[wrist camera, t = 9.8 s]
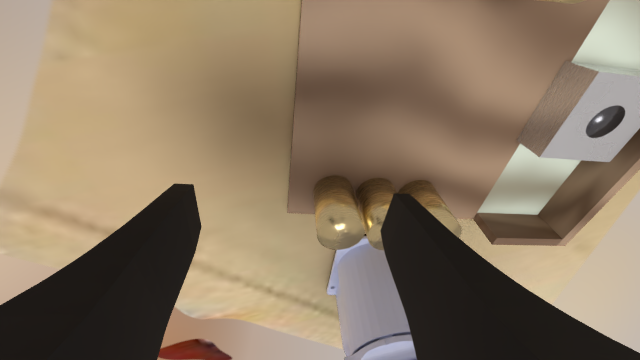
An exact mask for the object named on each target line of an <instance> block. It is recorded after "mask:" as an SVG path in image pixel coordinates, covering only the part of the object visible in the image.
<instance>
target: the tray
mask: <svg viewBox="0 0 640 360" xmlns="http://www.w3.org/2000/svg"><path fill="white" fill-rule="evenodd" d="M565 61H570V62H578V63H586V64H594V65H602V66H610V67H618V68H626V69H634V70H640V0H585V1H582V2H579V3H572V4H571V3H560V2H550V1H540V0H302V5H301V20H300V34H299V49H298V63H297V78H296V93H295V107H294V122H293V136H292V151H291V165H290V180H289V194H288V211H287V213H301V214H315V207H314V197H313V189H314V187H315V185H316V184H317V182H318V181H320V180H321V179H323V178H325V177H328V176H333V175H337V176H342V177H344V178H346V179H348V180H349V181H350V182H351V184H352V186H353V190H354V193H355V197H356V192H357V189H358V188H359V186H360V185H361V184H362V183H364V182H365V181H367V180H369V179H372V178H385V179H387V180H389V181H391V182H392V184H393V185H394V187H395V189H396V191H397V193H398V192H399V190H400V189H401V188H402V187H403V186H404V185H406V184H407V183H409V182H412V181H415V180H426V181H429V182H430V183H432V184H433V186H434V187H435V189H436V190H437V192H438V193H439V195H440V196H441V198H442V199H443V201H444V202H445V204H446V205H447V207H448V208H449V210H450V211H451V213H452V214H453V216H454V217H455V218H459V219H474V221H475V222H476V223H477V225H478V226H479V228H480V229H481V230H482V232H483V233H484V234H485V236H486V237H487V238H488V240H489V241H490V242H491V244H492V245H548V246H565V245H566V244H567V243H568V242H569V241H570V240H571V239H572V238H573V237H574V236H575V235H576V234H577V233H578V232H579V231H580V230H581V229H582V228H583V227H584V226H585V225H586V224H587V223H588V222H589V221H590V220H591V219H592V218H593V217H594V216H595V215H596V213H597V212H598V211H599V210H600V209H601V208H602V207H603V206H604V205H605V204H606V203H607V202H608V201H609V200H610V199H611V198H612V197H613V196H614V195H615V194H616V193H617V192H618V191H619V190H620V189H621V188H622V187H623V186H624V185H625V184H626V183H627V182H628V181H629V180H630V179H631V178H632V177H633V176H634V175H635V174H636V173H637V172H638V171H639V170H640V129H639V130H638V131H637V132H636V133H635V134H634V135H633V136H632V138H631V139H630V140H629V141H628V142H627V143H626V144H625V146H624V147H623V148H622V149H621V150H620V151H619V152H618V153H617V155H616V156H615V157H614V158H613V159H612V160H611V161H610V162H599V161H584V160H569V159H555V158H540V157H538V156H537V155H536V154H534V153H533V152H532V151H530V150H529V149H527V148H526V147H525V146H523V145H522V144H521V143H519V142H518V141H517V139H518V137H519V135H520V134H521V132H522V130H523V129H524V127H525V125H526V124H527V122H528V120H529V119H530V117H531V116H532V114H533V112H534V111H535V109H536V107H537V106H538V104H539V102H540V101H541V99H542V98H543V96H544V94H545V93H546V91H547V89H548V88H549V86H550V84H551V83H552V81H553V80H554V78H555V76H556V75H557V73H558V71H559V70H560V68H561V66H562V65H563V63H564V62H565ZM357 204H358V203H357ZM359 211H360V210H359Z"/></svg>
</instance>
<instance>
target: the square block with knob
mask: <svg viewBox="0 0 640 360" xmlns="http://www.w3.org/2000/svg"><path fill="white" fill-rule="evenodd" d="M639 129H640V70H634V69H626V68H618V67H610V66H602V65H594V64H586V63H578V62H570V61H565V62H564V63H563V65H562V66H561V68H560V70H559V71H558V73H557V75H556V76H555V78H554V80H553V81H552V83H551V84H550V86H549V88H548V89H547V91H546V93H545V94H544V96H543V98H542V99H541V101H540V102H539V104H538V106H537V107H536V109H535V111H534V112H533V114H532V116H531V117H530V119H529V120H528V122H527V124H526V125H525V127H524V129H523V130H522V132H521V134H520V135H519V137H518V139H517V141H518V142H519V143H521V144H522V145H523V146H525V147H526V148H527V149H529V150H530V151H532V152H533V153H534V154H536V155H537V156H538V157H540V158H555V159H569V160H584V161H599V162H610V161H611V160H612V159H613V158H614V157H615V156H616V155H617V153H618V152H619V151H620V150H621V149H622V148H623V147H624V146H625V144H626V143H627V142H628V141H629V140H630V139H631V138H632V136H633V135H634V134H635V133H636V132H637V131H638V130H639Z"/></svg>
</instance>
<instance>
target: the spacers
mask: <svg viewBox="0 0 640 360" xmlns="http://www.w3.org/2000/svg"><path fill="white" fill-rule="evenodd" d="M540 1H550V2H560V3H571V4H572V3H579V2H582V1H585V0H540ZM394 193H397V191H396V189H395V187H394V185H393V184H392V182H391V181H389V180H387V179H385V178H372V179H369V180H367V181H365V182H364V183H362V184H361V185H360V186H359V188H358V189H357V192H356V197H355V193H354V190H353V186H352V184H351V182H350V181H349V180H348V179H346V178H344V177H342V176H337V175H333V176H328V177H325V178H323V179H321V180H320V181H318V182H317V184H316V185H315V187H314V189H313V197H314V207H315V218H316V228H317V238H318V241H319V242H320V243H321V244H322V245H323V246H324V247H326V248H329V249H334V250H341V249H347V248H350V247H352V246H354V245H356V244H357V243H359V242H360V241H361V240H362V238H363V236H364V234H365V231H366V235H367V238H368V241H369V244H370V245H371V246H372V247H374V248H376V249H379V250H384V247H383V243H382V237H381V232H380V230H381V228H382V225H383V222H384V219H385V216H386V214H387V211H388V208H389V205H390V203H391V200H392V197H393V194H394ZM398 193H399V194H410V195H411V196H412V197H413V198H415V199H416V200H417V201H418V202H419V203H420V204H421V205H422V206H424V207H425V208H426V209H427V210H428V211H429V212H430V213H431V214H432V215H433V216H434V217H436V218H437V219H438V220H439V221H440V222H441V223H442V224H443V225H444V226H446V227H447V228H448V229H449V230H450V231H451V232H452V233H453V234H455V235H456V236H457V237H458V238H459V236H460V235H461V226H460V225H459V223H458V222H457V220H456V219H455V217H454V216H453V214H452V213H451V211H450V210H449V208H448V207H447V205H446V204H445V202H444V201H443V199H442V198H441V196H440V195H439V193H438V192H437V190H436V189H435V187H434V186H433V184H432V183H430V182H429V181H426V180H415V181H412V182H409V183H407V184H406V185H404V186H403V187H402V188H401V189H400V190H399V192H398ZM357 203H358V204H357ZM359 210H360V211H359ZM361 217H362V218H361ZM363 224H364V225H363Z"/></svg>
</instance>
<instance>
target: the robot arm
mask: <svg viewBox="0 0 640 360" xmlns="http://www.w3.org/2000/svg"><path fill="white" fill-rule="evenodd" d="M200 230H201V222H200V217H199V212H198V207H197V201H196V196H195V191H194V186H193V184H173V185H172V186H171V187H170V188H168V189H167V190H166V191H165V192H164V193H162V194H161V195H160V196H159V197H158V198H156V199H155V200H154V201H153V202H152V203H150V204H149V205H148V206H147V207H146V208H144V209H143V210H142V211H141V212H140V213H138V214H137V215H136V216H135V217H133V218H132V219H131V220H130V221H128V222H127V223H126V224H125V225H123V226H122V227H121V228H119V229H118V230H117V231H115V232H114V233H113V234H111V235H110V236H108V237H107V238H106V239H104V240H103V241H102V242H100V243H99V244H98V245H96V246H95V247H94V248H92V249H91V250H89V251H88V252H87V253H85V254H84V255H82V256H81V257H79V258H78V259H76V260H75V261H73V262H72V263H70V264H69V265H67V266H65V267H64V268H62V269H61V270H59V271H58V272H56V273H55V274H53V275H51V276H50V277H48V278H47V279H45V280H43V281H42V282H40V283H39V284H37V285H35V286H33V287H31V288H30V289H28V290H26V291H24V292H23V293H21V294H19V295H17V296H16V297H14V298H12V299H11V300H9V301H7V302H5V303H3V304H2V305H0V360H157V358H158V355H159V351H160V348H161V344H162V340H163V337H164V333H165V330H166V327H167V324H168V321H169V318H170V316H171V313H172V310H173V308H174V305H175V303H176V300H177V298H178V295H179V293H180V290H181V287H182V285H183V282H184V280H185V277H186V275H187V272H188V270H189V267H190V264H191V262H192V259H193V257H194V254H195V251H196V247H197V243H198V239H199V235H200ZM380 232H381V237H382V243H383V247H384V250H379V249H376V248H374V247H372V246H371V245H370V244H369V241H368V238H367V236H363V238H362V240H361V241H360V242H359V243H357V244H356V245H354V246H352V247H350V248H347V249H341V250H336V253H335V257H334V261H333V266H332V270H331V274H330V278H329V282H328V287H327V294H328V295H336V300H337V307H338V315H339V322H340V329H341V337H342V344H343V348H344V352H345V354H346V357H345V358H344V360H640V353H638V352H636V351H634V350H633V349H631V348H629V347H627V346H625V345H623V344H621V343H619V342H617V341H615V340H612V339H611V338H609V337H607V336H605V335H603V334H601V333H599V332H598V331H596V330H594V329H592V328H591V327H589V326H587V325H585V324H584V323H582V322H580V321H578V320H576V319H575V318H573V317H571V316H569V315H568V314H566V313H564V312H563V311H561V310H559V309H558V308H556V307H554V306H553V305H551V304H549V303H548V302H546V301H545V300H543V299H541V298H540V297H538V296H537V295H535V294H534V293H532V292H530V291H529V290H527V289H526V288H524V287H523V286H521V285H520V284H518V283H517V282H515V281H514V280H512V279H511V278H510V277H508V276H507V275H505V274H504V273H503V272H501V271H500V270H498V269H497V268H496V267H494V266H493V265H492V264H490V263H489V262H488V261H486V260H485V259H484V258H482V257H481V256H480V255H479V254H477V253H476V252H475V251H474V250H472V249H471V248H470V247H469V246H468V245H466V244H465V243H464V242H463V241H462V240H460V239H459V238H458V237H457V236H456V235H455V234H453V233H452V232H451V231H450V230H449V229H448V228H447V227H446V226H444V225H443V224H442V223H441V222H440V221H439V220H438V219H437V218H436V217H434V216H433V215H432V214H431V213H430V212H429V211H428V210H427V209H426V208H425V207H424V206H422V205H421V204H420V203H419V202H418V201H417V200H416V199H415V198H413V197H412V196H411V195H410V194H399V193H394V194H393V197H392V200H391V203H390V205H389V208H388V211H387V214H386V216H385V219H384V222H383V225H382V228H381V230H380Z"/></svg>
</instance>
